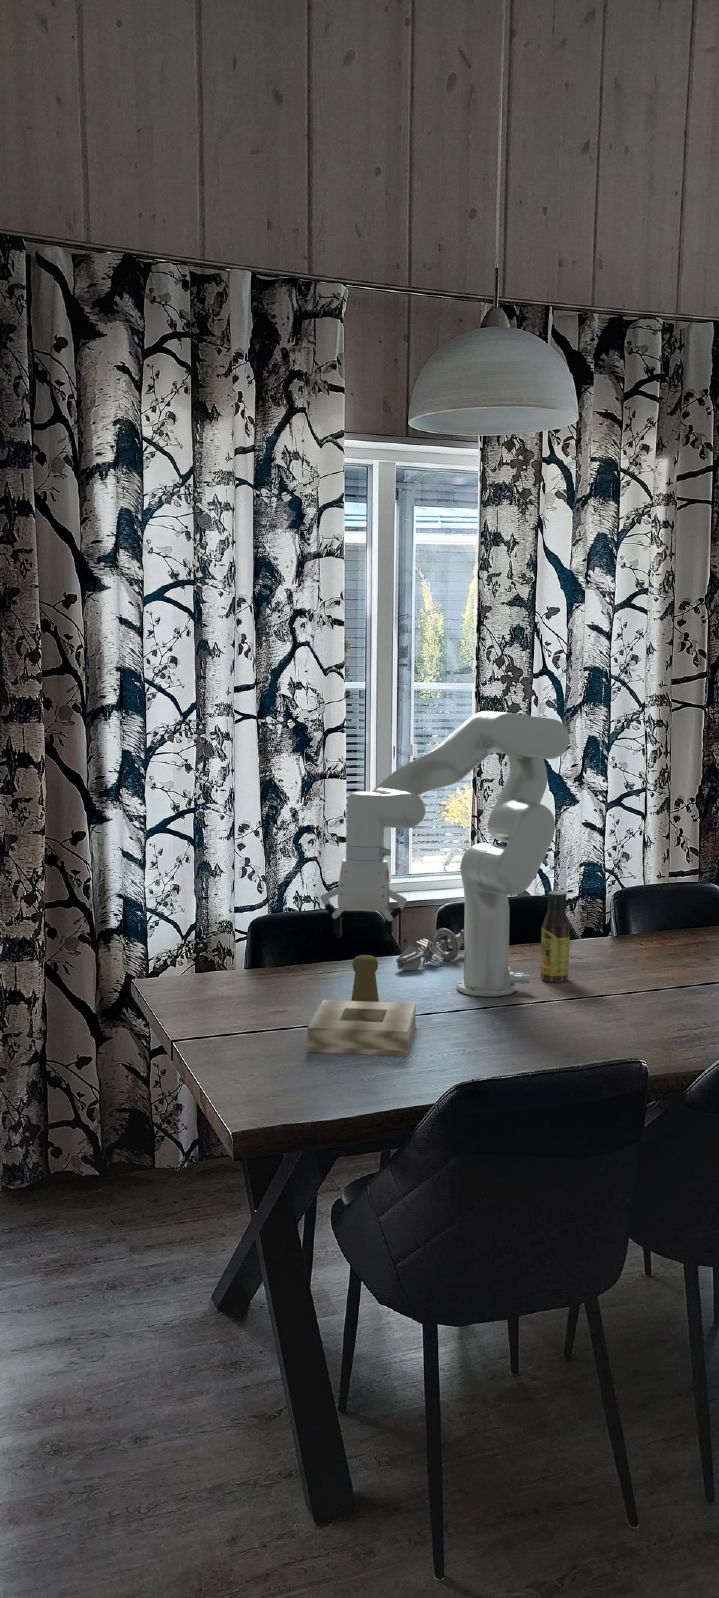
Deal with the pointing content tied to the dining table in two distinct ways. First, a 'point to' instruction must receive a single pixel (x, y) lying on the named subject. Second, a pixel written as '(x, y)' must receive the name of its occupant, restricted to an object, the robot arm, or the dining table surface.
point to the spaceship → (432, 950)
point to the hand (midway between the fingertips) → (362, 938)
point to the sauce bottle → (555, 940)
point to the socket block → (362, 1028)
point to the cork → (365, 979)
